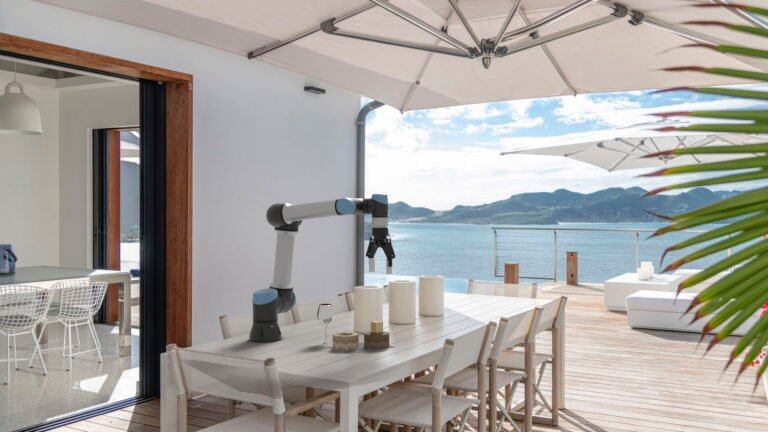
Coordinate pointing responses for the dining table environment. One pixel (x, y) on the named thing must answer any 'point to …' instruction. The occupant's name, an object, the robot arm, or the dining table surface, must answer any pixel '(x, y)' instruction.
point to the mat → (360, 349)
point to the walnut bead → (376, 340)
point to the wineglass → (325, 316)
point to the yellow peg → (376, 327)
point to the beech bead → (345, 341)
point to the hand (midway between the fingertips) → (380, 273)
